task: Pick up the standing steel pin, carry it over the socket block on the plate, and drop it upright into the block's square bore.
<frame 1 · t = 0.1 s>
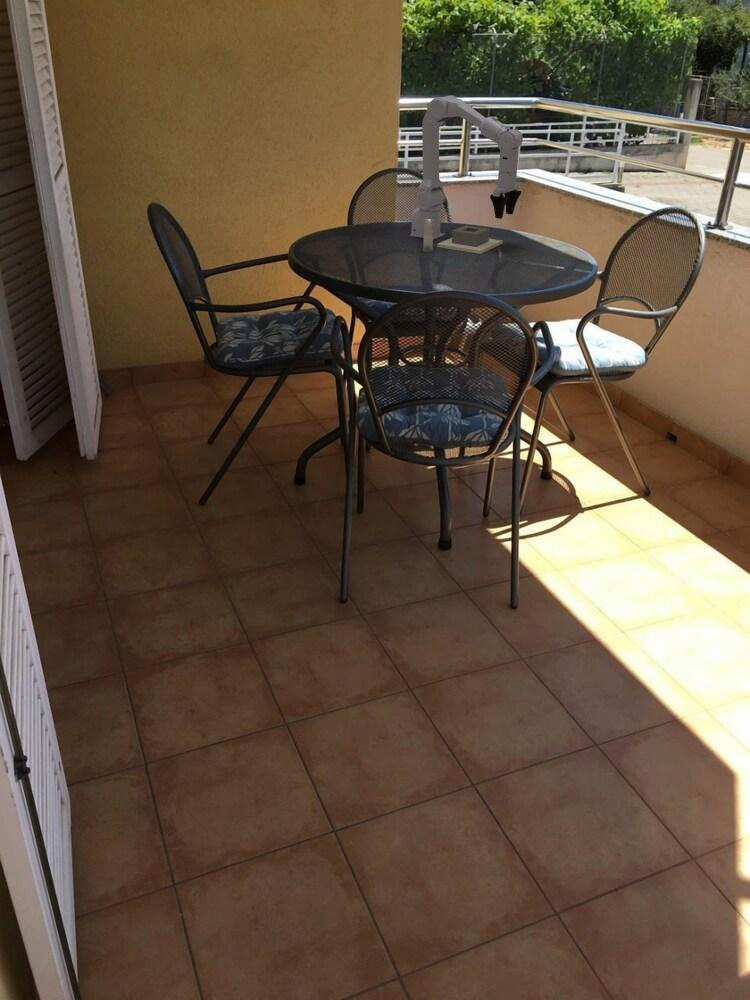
hand: (504, 216, 268), 10 cm above the table, tool pointing down, fingers open, 7 cm apart
steel pin: (427, 250, 269), on the table
socket block on plate: (470, 245, 275), on the table
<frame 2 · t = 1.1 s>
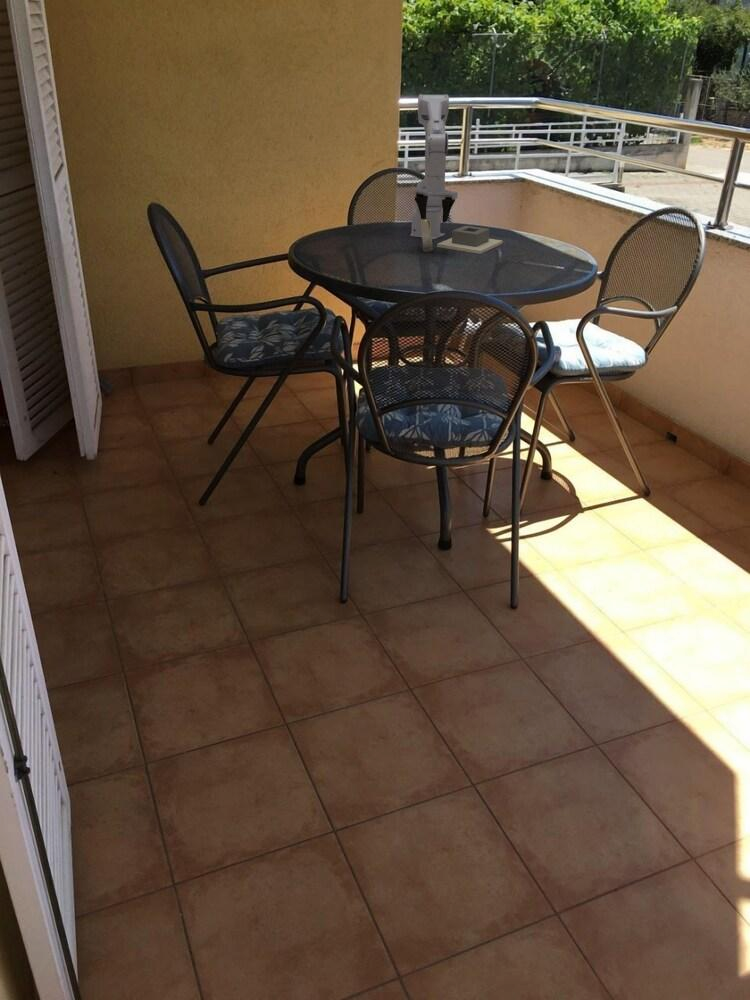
hand: (434, 220, 264), 9 cm above the table, tool pointing down, fingers open, 7 cm apart
steel pin: (427, 250, 269), on the table, tilted 7°
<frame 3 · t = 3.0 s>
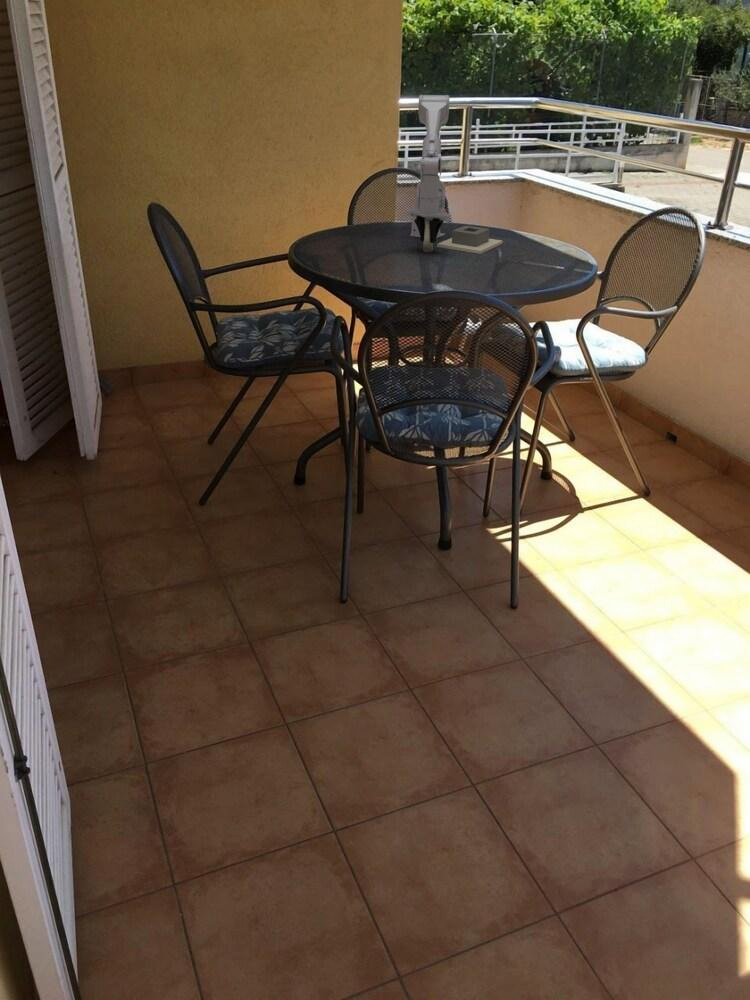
hand: (428, 241, 267), 3 cm above the table, tool pointing down, fingers closed on steel pin, 3 cm apart
steel pin: (427, 250, 269), on the table, touching gripper
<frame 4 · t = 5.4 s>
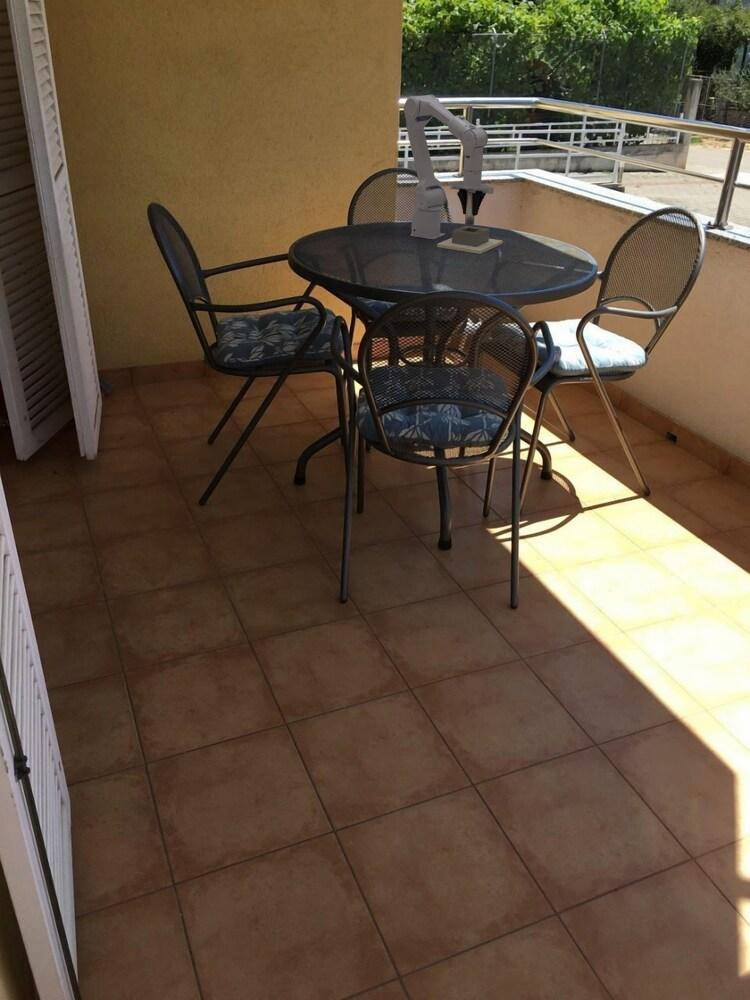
hand: (470, 214, 270), 10 cm above the table, tool pointing down, fingers closed on steel pin, 3 cm apart
steel pin: (469, 223, 271), point 7 cm above the table, touching gripper
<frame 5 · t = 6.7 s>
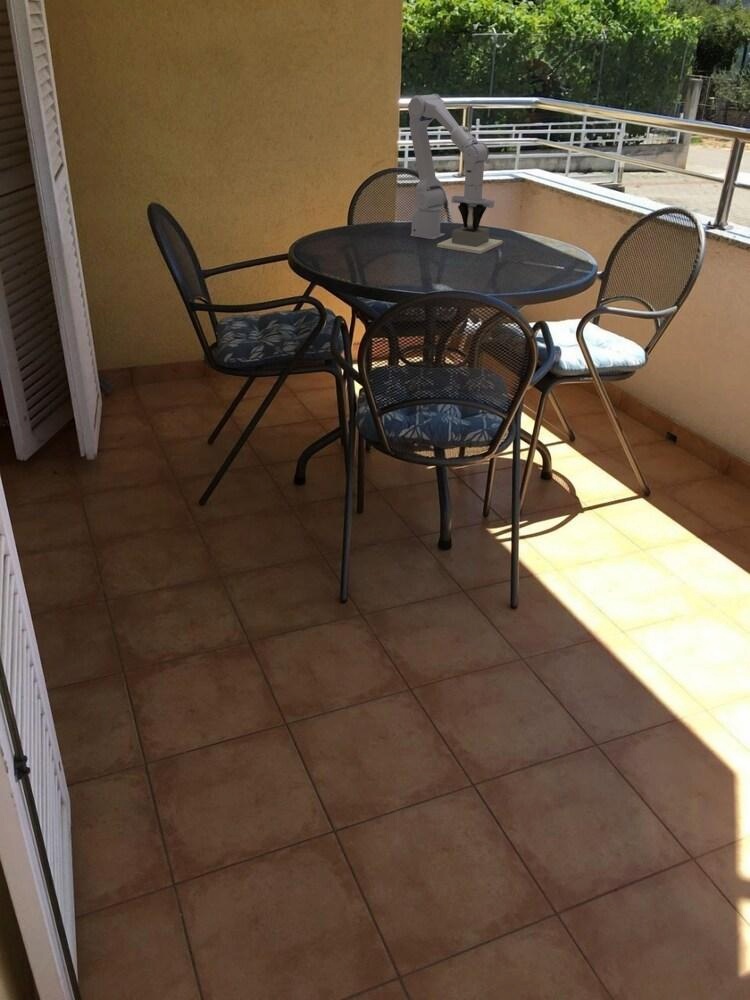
hand: (471, 227, 272), 6 cm above the table, tool pointing down, fingers closed on steel pin, 3 cm apart
steel pin: (470, 237, 274), point 3 cm above the table, touching gripper
when the fingers open (6 cm above the table, at t = 7.6 s): steel pin drops 2 cm, resting on socket block on plate.
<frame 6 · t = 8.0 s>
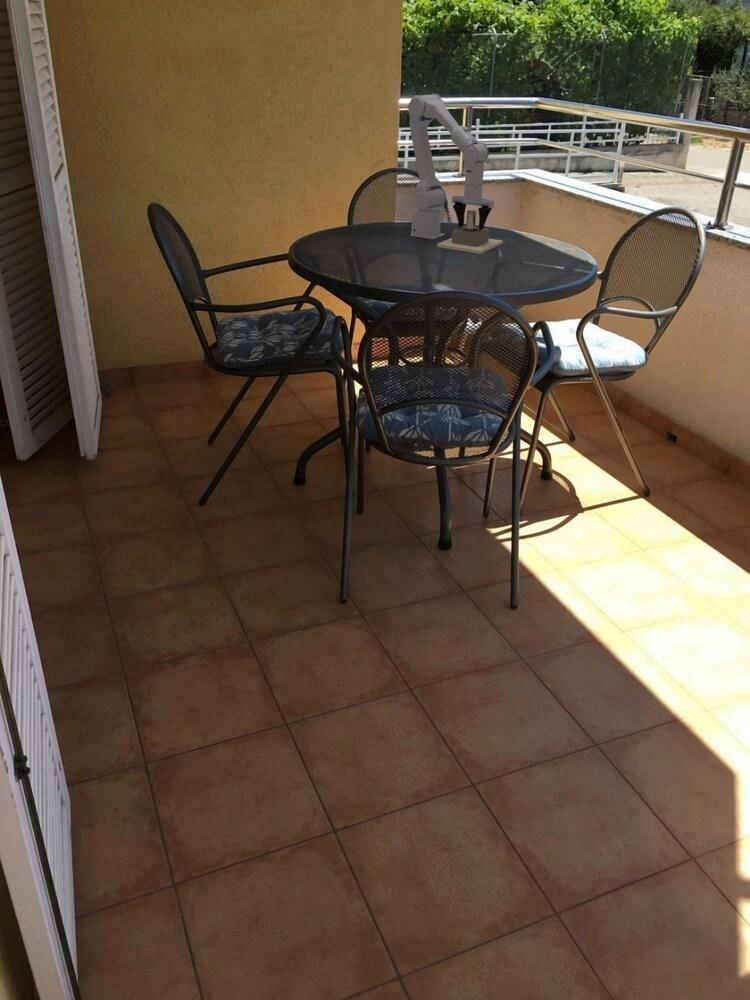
hand: (471, 227, 272), 6 cm above the table, tool pointing down, fingers open, 7 cm apart
steel pin: (470, 242, 275), point 1 cm above the table, touching socket block on plate
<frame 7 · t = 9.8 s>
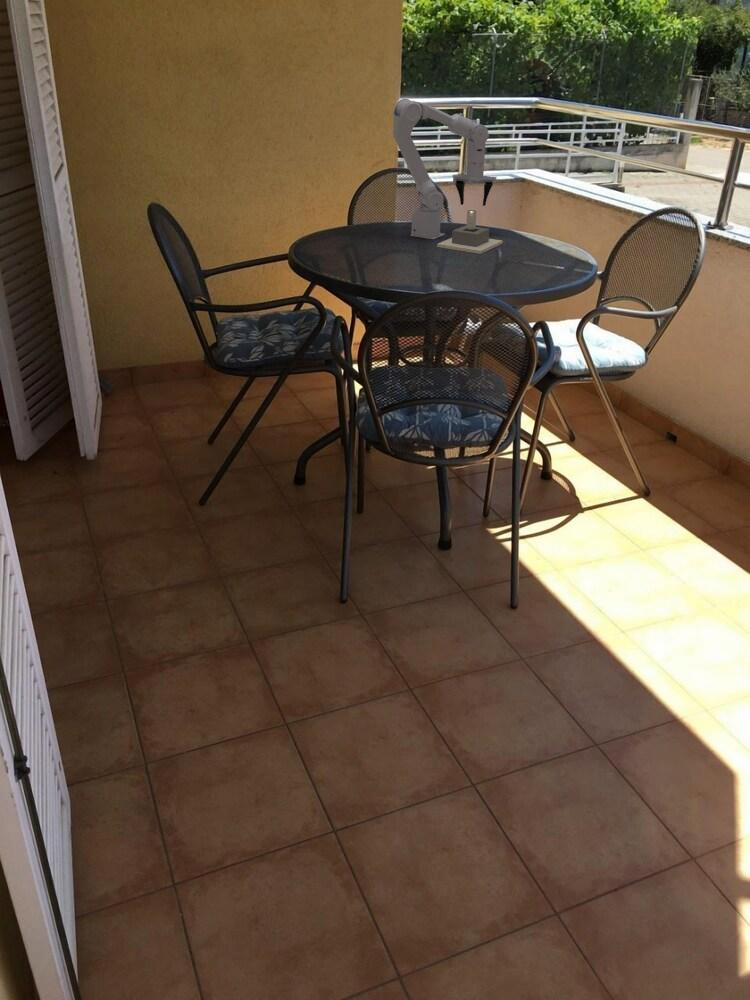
hand: (473, 204, 285), 9 cm above the table, tool pointing down, fingers open, 7 cm apart
nothing on the table moved.
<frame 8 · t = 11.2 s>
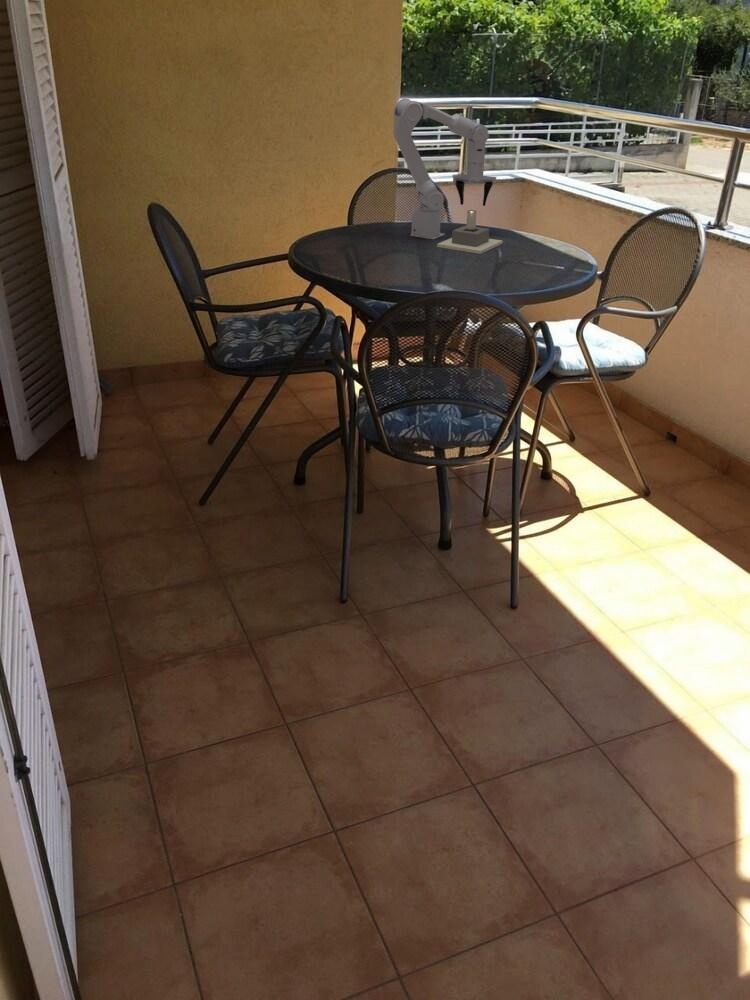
hand: (473, 204, 286), 9 cm above the table, tool pointing down, fingers open, 7 cm apart
nothing on the table moved.
at the end: steel pin 0.1 cm off-centre on the socket block on plate, point 1.0 cm above the socket block on plate's base; steel pin tilted 0°; the gripper is holding nothing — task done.
